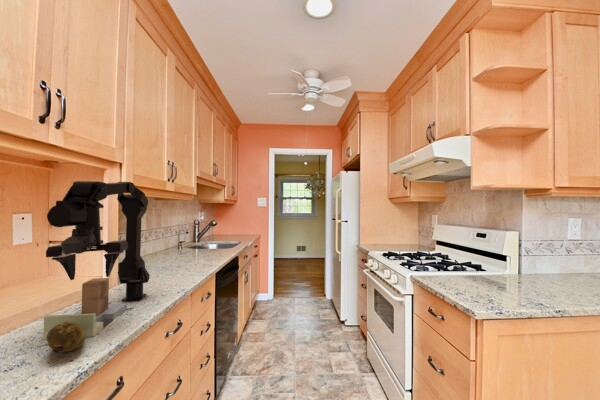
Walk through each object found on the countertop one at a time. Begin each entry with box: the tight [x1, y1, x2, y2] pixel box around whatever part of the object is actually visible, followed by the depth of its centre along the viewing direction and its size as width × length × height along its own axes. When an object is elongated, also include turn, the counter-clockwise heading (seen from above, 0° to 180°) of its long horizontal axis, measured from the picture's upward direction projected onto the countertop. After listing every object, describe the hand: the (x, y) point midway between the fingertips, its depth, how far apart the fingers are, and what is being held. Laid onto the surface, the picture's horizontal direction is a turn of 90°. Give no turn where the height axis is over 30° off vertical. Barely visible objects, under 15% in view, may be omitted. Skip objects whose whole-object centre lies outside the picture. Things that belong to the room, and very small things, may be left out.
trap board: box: [43, 302, 128, 341], centre depth 84 cm, size 20×12×6 cm, turn 9°
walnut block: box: [81, 277, 110, 316], centre depth 87 cm, size 6×4×10 cm
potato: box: [46, 322, 86, 354], centre depth 68 cm, size 8×13×8 cm, turn 17°
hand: (90, 278), depth 80 cm, fingers open, 9 cm apart
